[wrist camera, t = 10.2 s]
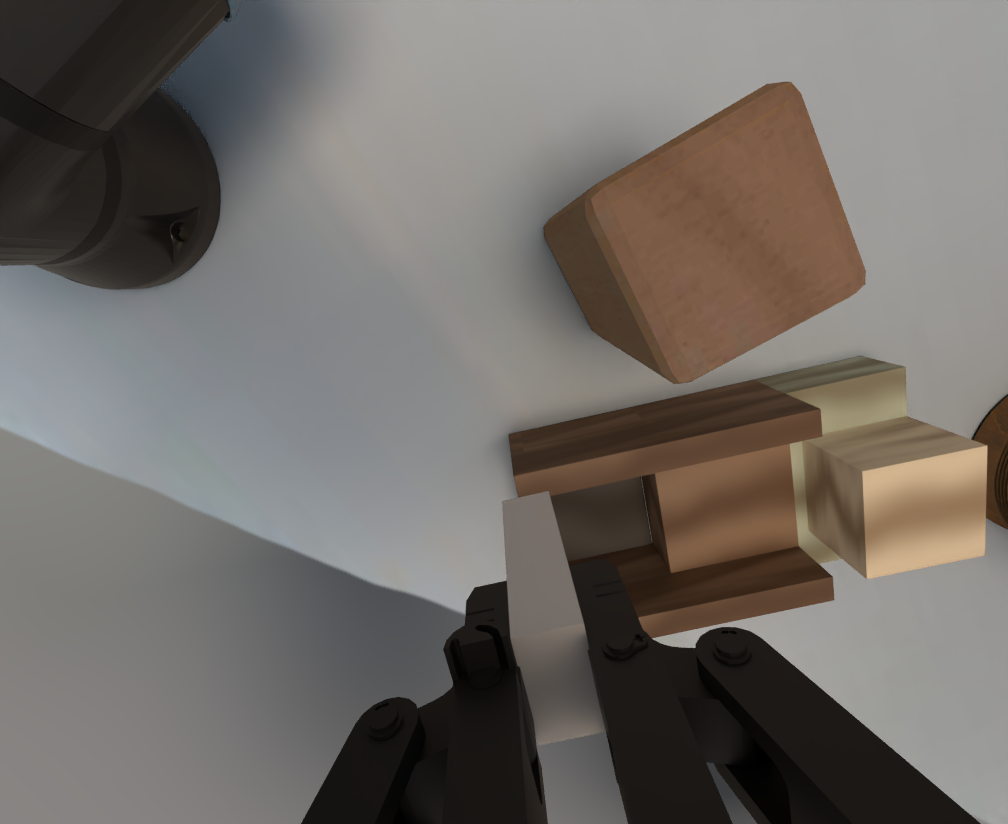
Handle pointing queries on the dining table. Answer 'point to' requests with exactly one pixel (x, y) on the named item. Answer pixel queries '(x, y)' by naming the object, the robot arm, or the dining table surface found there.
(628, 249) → the wooden block
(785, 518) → the chute
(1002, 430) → the wooden container
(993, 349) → the dining table surface
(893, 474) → the birch block
